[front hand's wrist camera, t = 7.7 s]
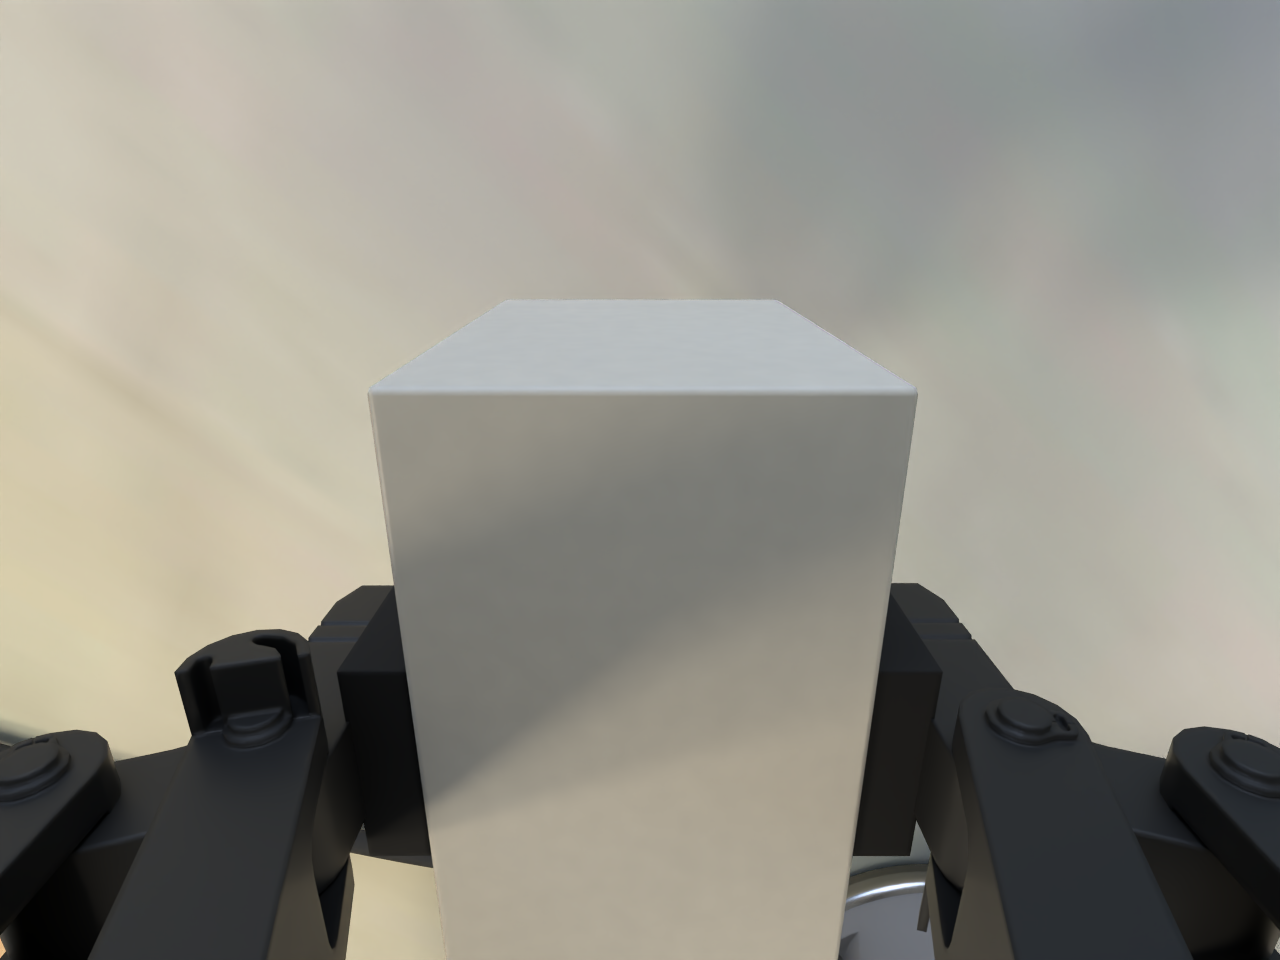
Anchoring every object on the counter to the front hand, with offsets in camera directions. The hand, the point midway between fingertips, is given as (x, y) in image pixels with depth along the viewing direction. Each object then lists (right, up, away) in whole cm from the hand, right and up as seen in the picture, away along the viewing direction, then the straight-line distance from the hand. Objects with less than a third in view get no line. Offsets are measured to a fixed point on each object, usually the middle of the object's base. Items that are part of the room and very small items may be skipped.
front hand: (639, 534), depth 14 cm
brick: (0, 0, +1) cm, 1 cm away
